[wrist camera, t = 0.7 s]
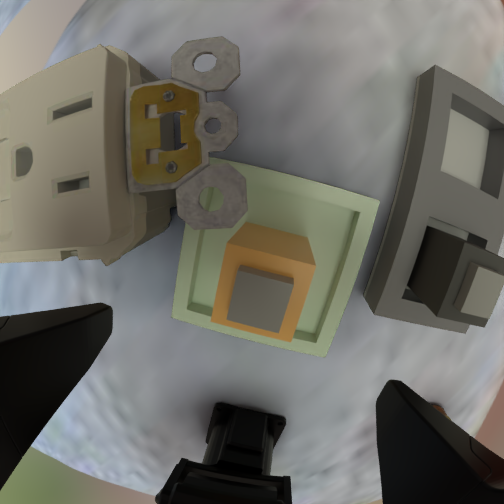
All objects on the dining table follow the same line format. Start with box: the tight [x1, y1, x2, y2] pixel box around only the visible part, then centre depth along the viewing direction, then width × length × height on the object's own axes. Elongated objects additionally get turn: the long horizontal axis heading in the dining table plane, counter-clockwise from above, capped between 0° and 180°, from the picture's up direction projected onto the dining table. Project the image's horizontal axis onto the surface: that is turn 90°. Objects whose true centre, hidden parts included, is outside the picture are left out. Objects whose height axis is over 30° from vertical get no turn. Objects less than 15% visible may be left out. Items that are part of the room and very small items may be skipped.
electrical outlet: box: [0, 37, 248, 266], centre depth 15 cm, size 12×28×10 cm, turn 93°
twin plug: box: [407, 226, 504, 327], centre depth 14 cm, size 4×4×7 cm
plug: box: [210, 222, 316, 342], centre depth 16 cm, size 4×4×7 cm
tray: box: [171, 157, 380, 357], centre depth 19 cm, size 11×11×2 cm
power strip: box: [363, 65, 504, 334], centre depth 16 cm, size 16×8×3 cm, turn 167°
